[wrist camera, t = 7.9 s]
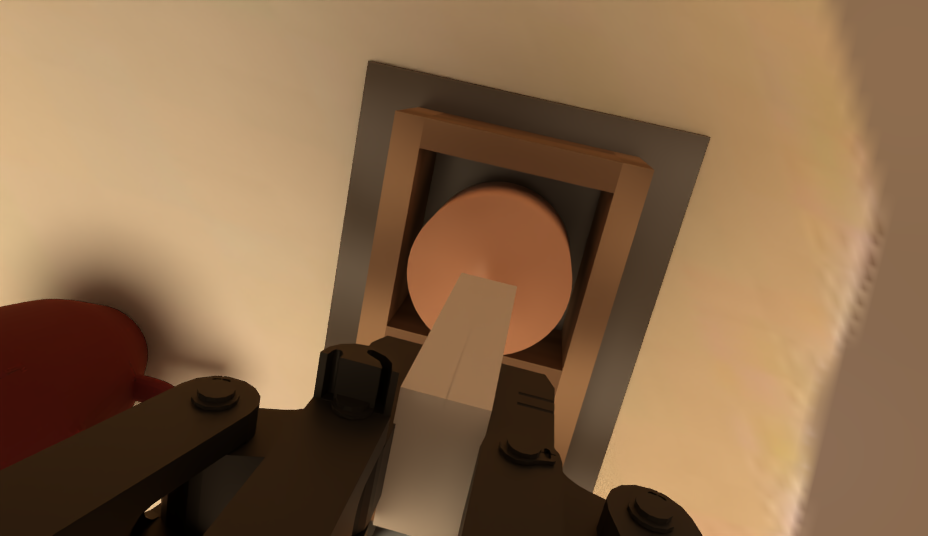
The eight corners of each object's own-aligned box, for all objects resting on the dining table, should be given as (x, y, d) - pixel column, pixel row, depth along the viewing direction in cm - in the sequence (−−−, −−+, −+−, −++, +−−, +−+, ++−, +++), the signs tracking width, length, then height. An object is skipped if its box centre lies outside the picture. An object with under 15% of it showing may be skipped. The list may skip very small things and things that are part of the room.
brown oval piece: (441, 166, 21) (423, 179, 18) (586, 200, 21) (591, 219, 18) (415, 300, 23) (394, 333, 20) (549, 334, 23) (548, 373, 20)
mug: (233, 274, 27) (57, 377, 17) (245, 435, 29) (95, 602, 20) (18, 256, 28) (-255, 342, 19) (46, 410, 30) (-184, 557, 21)
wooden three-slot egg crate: (370, 61, 23) (334, 56, 20) (708, 136, 22) (739, 146, 19) (290, 582, 31) (254, 650, 28) (537, 654, 30) (534, 735, 27)
